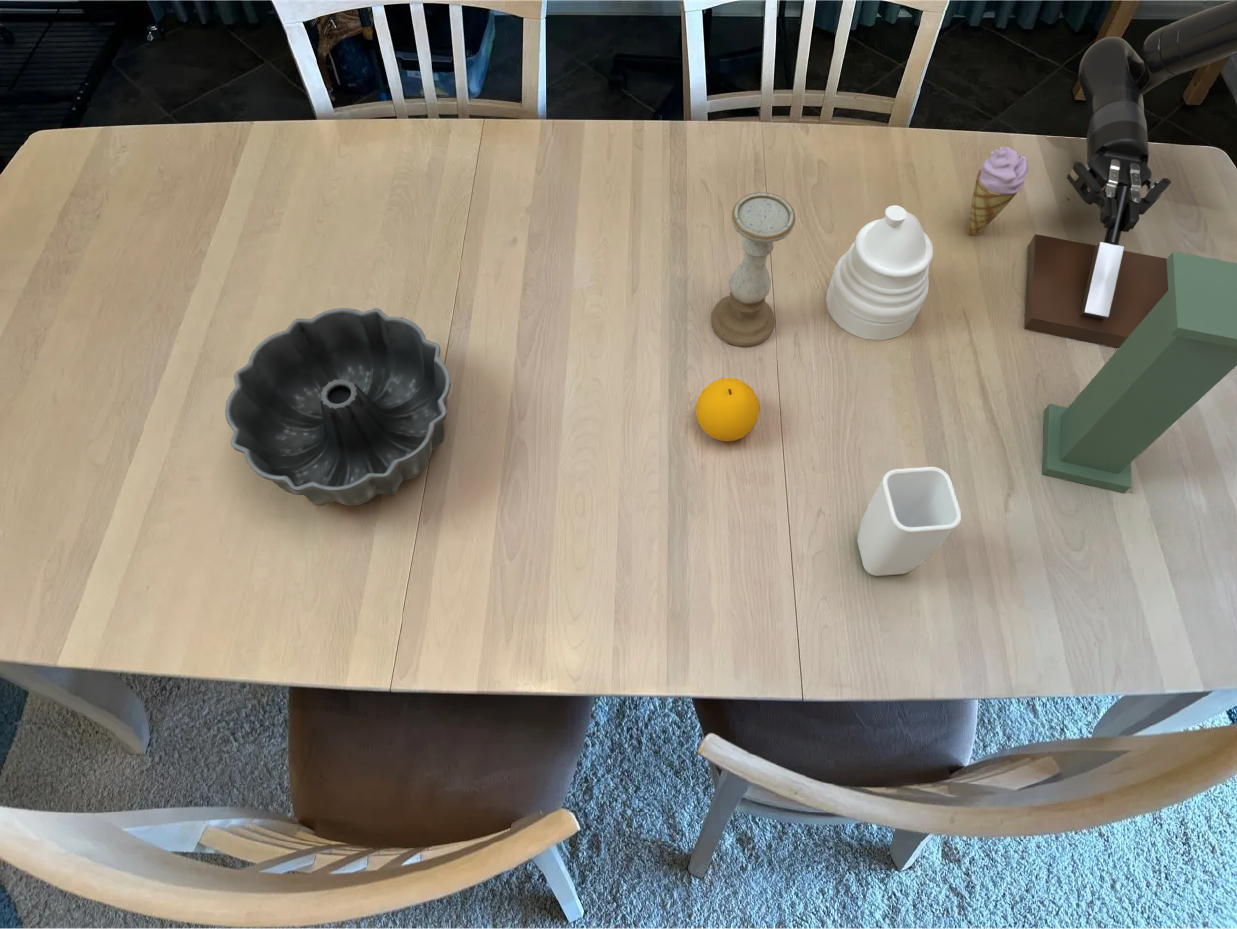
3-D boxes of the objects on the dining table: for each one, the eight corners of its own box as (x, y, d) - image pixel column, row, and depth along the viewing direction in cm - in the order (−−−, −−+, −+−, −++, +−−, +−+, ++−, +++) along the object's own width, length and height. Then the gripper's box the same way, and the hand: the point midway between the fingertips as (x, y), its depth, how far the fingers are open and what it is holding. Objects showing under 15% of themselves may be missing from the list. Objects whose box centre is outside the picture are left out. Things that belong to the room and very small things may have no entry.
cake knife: (1132, 193, 115) (1139, 188, 113) (1103, 319, 114) (1110, 316, 112) (1108, 188, 115) (1114, 183, 114) (1079, 314, 115) (1085, 311, 113)
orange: (717, 460, 107) (723, 429, 100) (682, 415, 110) (686, 383, 103) (767, 431, 109) (776, 399, 102) (731, 388, 112) (738, 355, 105)
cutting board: (1170, 272, 122) (1180, 260, 119) (1175, 359, 114) (1186, 348, 112) (1028, 245, 124) (1035, 233, 122) (1024, 329, 117) (1031, 317, 114)
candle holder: (720, 352, 115) (738, 246, 97) (704, 303, 119) (718, 193, 101) (781, 341, 116) (810, 234, 98) (763, 293, 120) (788, 182, 102)
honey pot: (856, 352, 115) (894, 260, 99) (808, 286, 120) (837, 189, 105) (935, 321, 117) (984, 227, 102) (885, 258, 123) (923, 159, 107)
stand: (1123, 427, 109) (1279, 270, 83) (1124, 493, 104) (1290, 349, 78) (1043, 410, 110) (1172, 250, 84) (1041, 474, 105) (1177, 327, 80)
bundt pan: (455, 340, 116) (441, 292, 107) (472, 509, 103) (458, 470, 95) (260, 367, 114) (230, 321, 105) (253, 543, 101) (218, 507, 93)
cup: (920, 580, 99) (966, 527, 86) (859, 584, 98) (896, 532, 85) (905, 524, 102) (947, 464, 89) (846, 528, 102) (879, 469, 89)
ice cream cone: (948, 214, 127) (986, 131, 114) (990, 214, 127) (1032, 132, 114) (956, 247, 124) (995, 166, 111) (998, 247, 124) (1043, 167, 111)
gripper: (1080, 110, 119) (1080, 193, 110) (1182, 128, 117) (1190, 214, 109) (1055, 153, 125) (1054, 235, 117) (1151, 171, 123) (1157, 255, 115)
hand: (1119, 225), depth 113 cm, fingers closed on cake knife, 2 cm apart
